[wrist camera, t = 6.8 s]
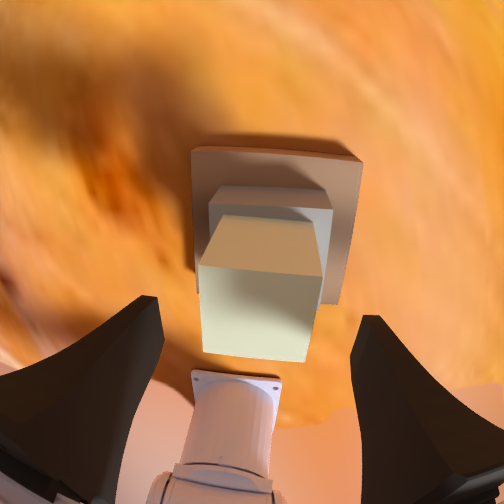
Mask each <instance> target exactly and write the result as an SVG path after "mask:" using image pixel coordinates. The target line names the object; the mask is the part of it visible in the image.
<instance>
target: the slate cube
mask: <svg viewBox="0 0 504 504" xmlns="http://www.w3.org/2000/svg"><path fill="white" fill-rule="evenodd" d="M208 204H209V227H210V240H211V238H212V236H213V234H214V232H215V230H216V228H217V226H218V224H219V222H220V220H221V218H222V216H223V215H236V216H249V217H261V218H272V219H283V220H294V221H305V222H313V224H314V229H315V235H316V240H317V245H318V251H319V256H320V262H321V267H322V273H323V280H322V285H321V290H320V295H319V300H318V305H317V310H319V309H320V303H321V297H322V290H323V284H324V277H325V271H326V264H327V256H328V249H329V241H330V234H331V225H332V217H333V208H332V205H331V203H330V200H329V198H328V195H327V193H326V190H316V189H301V188H283V187H262V186H234V185H221V186H220V188H219V189H218V191H217V192H216V193H215V195H214V196H213V198H212V199H211V200H210V202H209V203H208Z"/></svg>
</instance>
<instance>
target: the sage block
mask: <svg viewBox="0 0 504 504" xmlns="http://www.w3.org/2000/svg"><path fill="white" fill-rule="evenodd" d="M198 277H199V296H200V313H201V329H202V343H203V352H207V353H215V354H222V355H230V356H239V357H248V358H257V359H268V360H279V361H292V362H305V358H306V354H307V350H308V346H309V341H310V337H311V333H312V328H313V324H314V319H315V314H316V310H317V305H318V300H319V295H320V290H321V285H322V280H323V273H322V267H321V262H320V256H319V251H318V245H317V240H316V235H315V229H314V224H313V222H305V221H294V220H283V219H272V218H261V217H249V216H236V215H223V216H222V218H221V220H220V222H219V224H218V226H217V228H216V230H215V232H214V234H213V236H212V238H211V240H210V242H209V244H208V246H207V248H206V250H205V252H204V254H203V256H202V258H201V260H200V262H199V264H198Z"/></svg>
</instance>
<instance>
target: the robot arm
mask: <svg viewBox="0 0 504 504" xmlns="http://www.w3.org/2000/svg"><path fill="white" fill-rule="evenodd" d="M164 340H165V338H164V333H163V328H162V322H161V317H160V311H159V305H158V299H157V297H152V296H145V295H141V296H140V297H138V298H137V299H136V300H134V301H133V302H131V303H130V304H129V305H127V306H126V307H125V308H123V309H122V310H121V311H120V312H118V313H117V314H116V315H114V316H113V317H111V318H110V319H109V320H107V321H106V322H105V323H103V324H102V325H101V326H99V327H98V328H96V329H95V330H93V331H92V332H90V333H89V334H88V335H86V336H85V337H83V338H82V339H80V340H79V341H77V342H75V343H74V344H72V345H70V346H69V347H67V348H65V349H63V350H62V351H60V352H58V353H56V354H54V355H52V356H50V357H48V358H46V359H44V360H42V361H39V362H37V363H35V364H33V365H30V366H28V367H25V368H23V369H20V370H17V371H14V372H11V373H8V374H5V375H1V376H0V504H80V502H81V503H83V504H115V498H116V490H117V483H118V478H119V472H120V467H121V462H122V458H123V454H124V449H125V446H126V442H127V438H128V434H129V431H130V428H131V424H132V421H133V418H134V415H135V413H136V410H137V408H138V405H139V403H140V401H141V398H142V396H143V394H144V392H145V390H146V387H147V385H148V383H149V381H150V379H151V376H152V374H153V372H154V370H155V367H156V365H157V363H158V360H159V357H160V353H161V350H162V347H163V343H164ZM350 365H351V380H352V386H353V392H354V397H355V403H356V408H357V414H358V420H359V426H360V431H361V440H362V493H361V504H496V501H495V498H497V497H498V496H499V489H498V486H500V485H501V484H502V483H504V430H503V429H501V428H499V427H497V426H495V425H494V424H492V423H490V422H489V421H487V420H486V419H484V418H482V417H481V416H479V415H478V414H476V413H475V412H474V411H472V410H471V409H469V408H468V407H467V406H466V405H464V404H463V403H462V402H460V401H459V400H458V399H457V398H455V397H454V396H453V395H452V394H451V393H449V392H448V391H447V390H446V389H445V388H444V387H443V386H442V385H441V384H440V383H438V382H437V381H436V380H435V379H434V378H433V377H432V376H431V375H430V374H429V372H428V371H427V370H426V369H425V368H424V367H423V366H422V365H421V364H420V363H419V362H418V361H417V360H416V358H415V357H414V356H413V355H412V354H411V353H410V351H409V350H408V349H407V348H406V347H405V346H404V344H403V343H402V342H401V341H400V340H399V338H398V337H397V336H396V335H395V333H394V332H393V331H392V330H391V329H390V327H389V326H388V325H387V324H386V322H385V321H384V320H383V319H382V318H381V317H380V316H379V315H363V317H362V321H361V324H360V327H359V330H358V334H357V337H356V340H355V343H354V346H353V349H352V352H351V355H350ZM191 380H192V386H193V392H194V398H195V403H196V405H195V408H194V412H193V416H192V419H191V423H190V426H189V430H188V434H187V438H186V441H185V445H184V449H183V452H182V456H181V460H180V463H175V466H174V470H173V473H171V472H168V471H165V472H163V473H162V474H160V475H158V476H157V477H156V478H155V480H154V481H153V483H152V486H151V488H150V491H149V494H148V498H147V501H146V504H287V503H286V500H285V498H284V497H283V496H282V495H281V493H280V491H278V490H272V482H273V481H272V480H271V479H268V472H269V461H270V450H271V437H272V432H273V431H274V426H275V421H276V415H277V410H278V405H279V399H280V394H281V388H282V381H281V380H280V379H276V378H264V377H253V376H243V375H234V374H225V373H217V372H210V371H202V370H192V372H191ZM498 504H504V501H502V502H500V503H498Z"/></svg>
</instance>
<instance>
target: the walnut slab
mask: <svg viewBox="0 0 504 504" xmlns="http://www.w3.org/2000/svg"><path fill="white" fill-rule="evenodd" d="M362 169H363V162H362V161H361V160H359V159H358V158H357V157H355V156H348V155H339V154H331V153H321V152H311V151H300V150H288V149H273V148H256V147H233V146H198V147H196V148H195V149H193V150H191V188H192V216H193V238H194V256H195V272H196V287H197V293H198V294H199V277H198V264H199V262H200V260H201V258H202V256H203V254H204V252H205V250H206V248H207V246H208V244H209V242H210V227H209V204H208V203H209V202H210V200H211V199H212V198H213V196H214V195H215V193H216V192H217V191H218V189H219V188H220V186H221V185H234V186H262V187H283V188H301V189H316V190H326V193H327V195H328V198H329V200H330V203H331V205H332V208H333V217H332V225H331V234H330V241H329V249H328V256H327V264H326V271H325V277H324V284H323V290H322V297H321V303H320V304H331V305H338V301H339V297H340V293H341V288H342V284H343V279H344V274H345V269H346V264H347V260H348V254H349V249H350V244H351V239H352V233H353V227H354V222H355V216H356V210H357V203H358V197H359V190H360V183H361V176H362Z"/></svg>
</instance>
